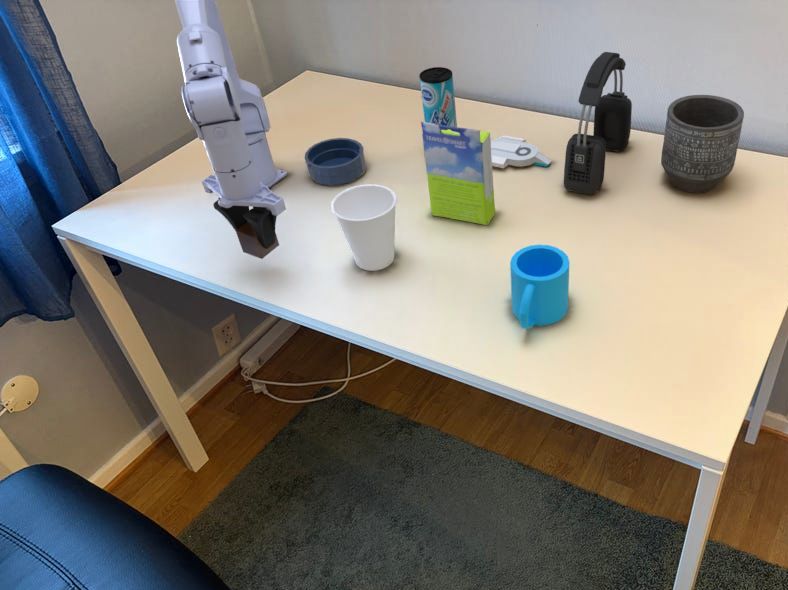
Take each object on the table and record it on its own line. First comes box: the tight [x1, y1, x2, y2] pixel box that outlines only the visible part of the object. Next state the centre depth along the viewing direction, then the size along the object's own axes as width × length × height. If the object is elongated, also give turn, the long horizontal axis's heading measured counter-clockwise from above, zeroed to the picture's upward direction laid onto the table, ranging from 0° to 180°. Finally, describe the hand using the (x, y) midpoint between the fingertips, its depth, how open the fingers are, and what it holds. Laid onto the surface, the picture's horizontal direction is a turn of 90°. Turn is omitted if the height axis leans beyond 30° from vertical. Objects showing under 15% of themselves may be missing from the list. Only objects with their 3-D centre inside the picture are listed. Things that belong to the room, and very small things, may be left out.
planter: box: [660, 94, 745, 194], centre depth 124 cm, size 12×12×13 cm
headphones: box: [563, 51, 633, 196], centre depth 126 cm, size 22×6×20 cm, turn 155°
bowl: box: [304, 137, 367, 187], centre depth 136 cm, size 11×11×4 cm
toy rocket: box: [490, 135, 552, 169], centre depth 136 cm, size 16×10×2 cm, turn 63°
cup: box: [330, 183, 398, 272], centre depth 113 cm, size 10×10×11 cm
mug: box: [509, 244, 570, 330], centre depth 103 cm, size 12×8×8 cm
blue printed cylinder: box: [418, 66, 458, 127], centre depth 135 cm, size 6×6×15 cm
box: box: [420, 121, 496, 226], centre depth 119 cm, size 10×4×17 cm, turn 68°
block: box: [235, 222, 280, 260], centre depth 113 cm, size 4×4×4 cm
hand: (258, 241), depth 113 cm, fingers closed on block, 4 cm apart
